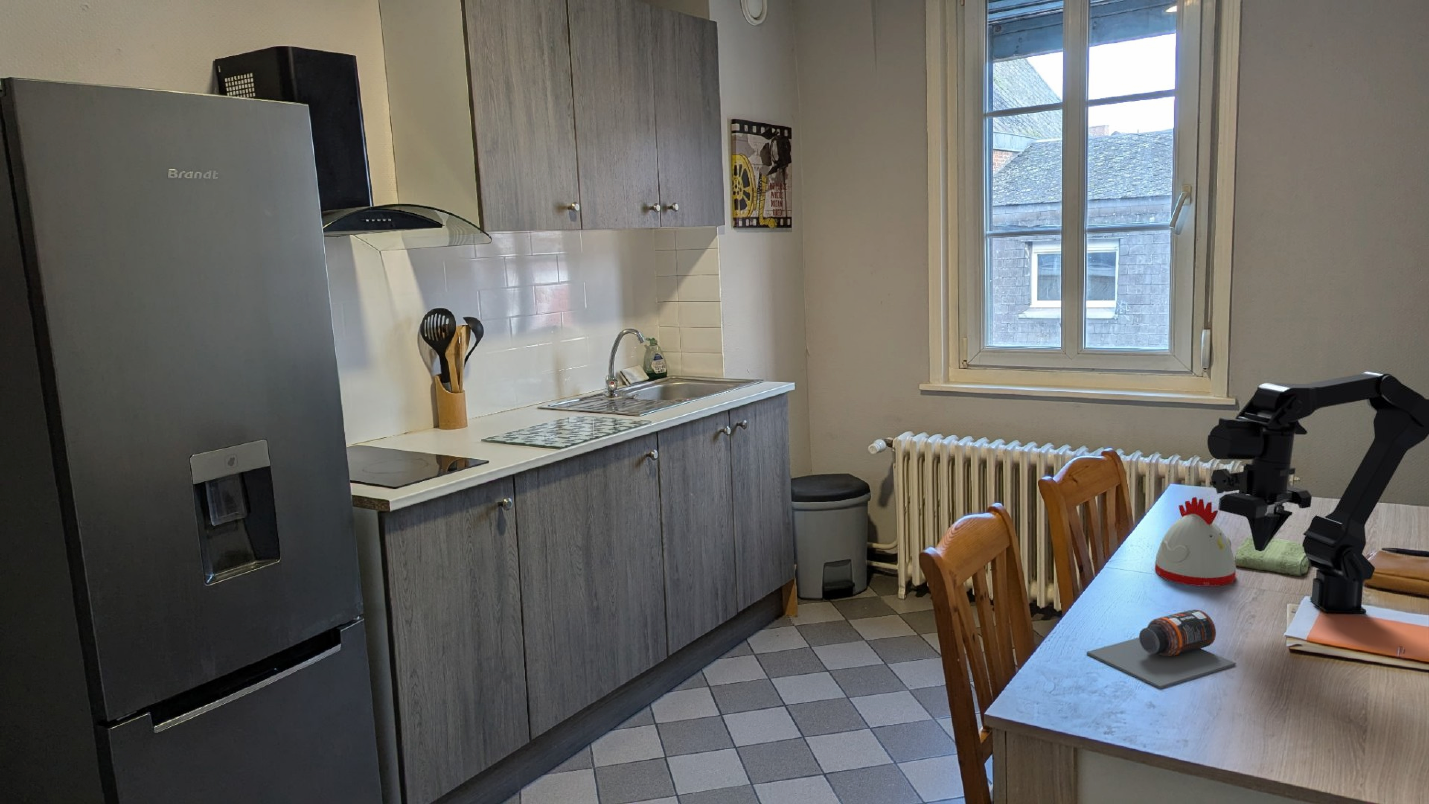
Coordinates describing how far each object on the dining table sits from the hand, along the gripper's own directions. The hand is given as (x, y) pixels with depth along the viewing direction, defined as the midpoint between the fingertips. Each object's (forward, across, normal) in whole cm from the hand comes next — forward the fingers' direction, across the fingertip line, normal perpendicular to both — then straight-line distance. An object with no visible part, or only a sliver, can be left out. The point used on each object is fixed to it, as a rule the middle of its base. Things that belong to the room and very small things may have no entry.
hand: (1259, 550), depth 168 cm
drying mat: (+14, +27, +1) cm, 30 cm away
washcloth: (+10, -32, -13) cm, 36 cm away
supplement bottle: (+10, +18, +2) cm, 21 cm away
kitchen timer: (+12, -13, -18) cm, 25 cm away
